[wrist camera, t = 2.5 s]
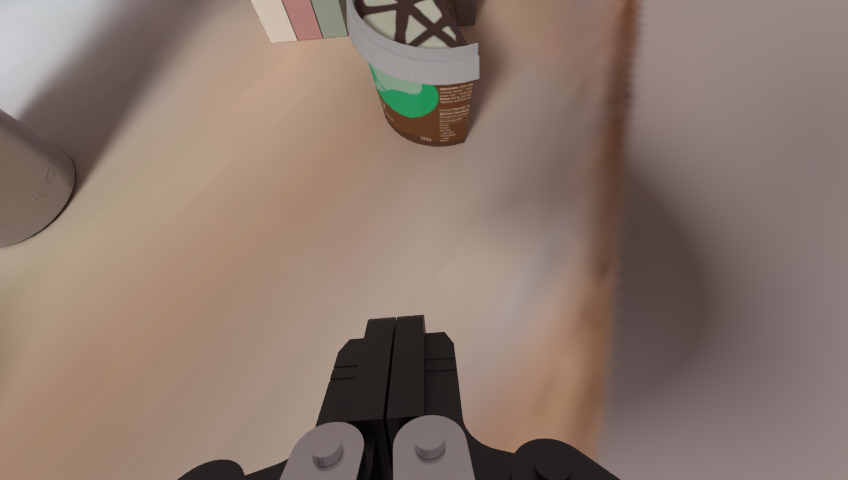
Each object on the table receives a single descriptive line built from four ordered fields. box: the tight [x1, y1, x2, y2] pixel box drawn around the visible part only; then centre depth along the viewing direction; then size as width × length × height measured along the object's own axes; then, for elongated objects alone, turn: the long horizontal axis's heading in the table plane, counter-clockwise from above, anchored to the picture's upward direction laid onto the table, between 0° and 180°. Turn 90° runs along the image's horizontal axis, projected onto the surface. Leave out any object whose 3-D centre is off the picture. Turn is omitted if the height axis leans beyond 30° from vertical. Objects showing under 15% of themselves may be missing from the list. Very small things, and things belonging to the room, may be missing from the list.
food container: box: [346, 0, 479, 147], centre depth 28 cm, size 12×6×10 cm, turn 20°
